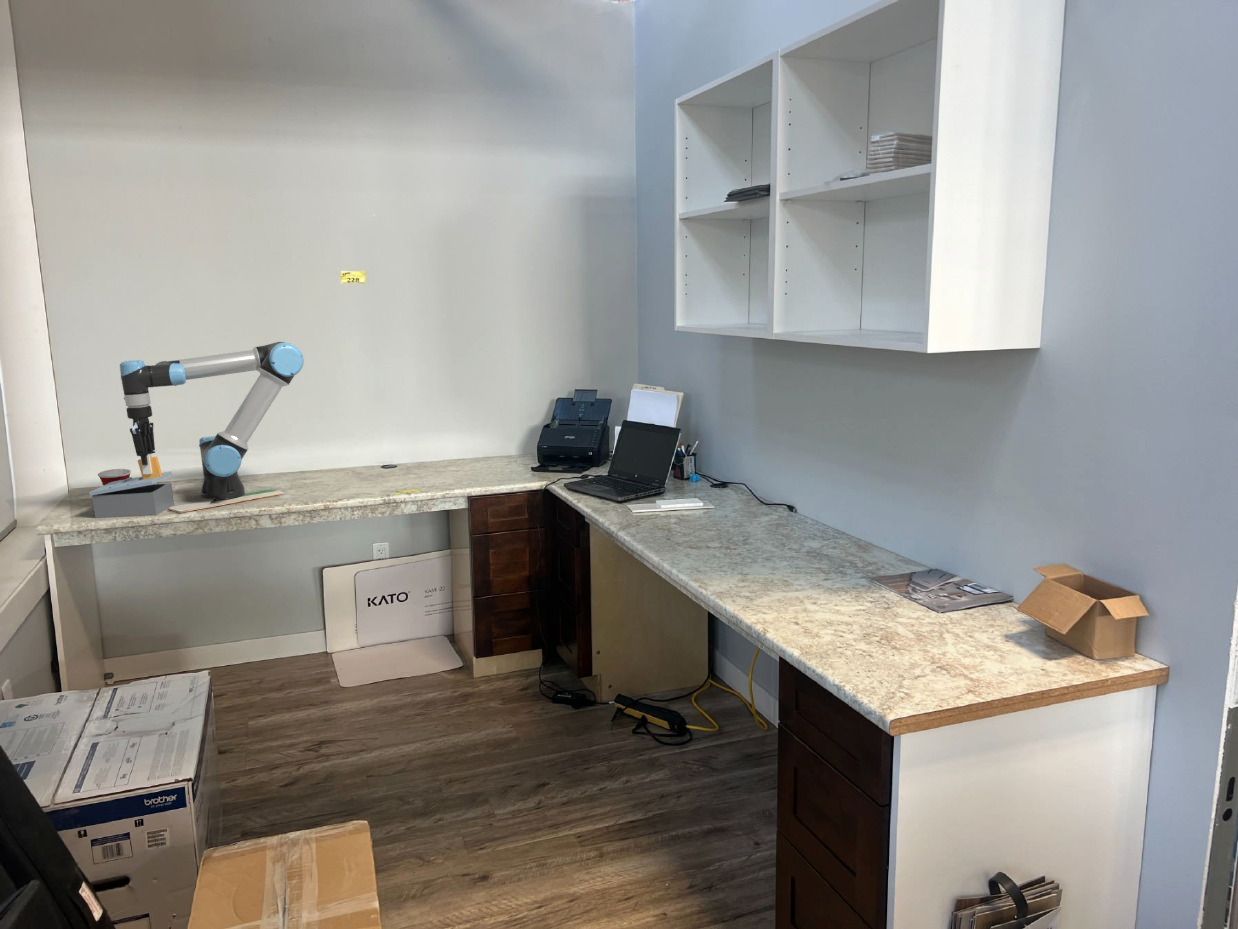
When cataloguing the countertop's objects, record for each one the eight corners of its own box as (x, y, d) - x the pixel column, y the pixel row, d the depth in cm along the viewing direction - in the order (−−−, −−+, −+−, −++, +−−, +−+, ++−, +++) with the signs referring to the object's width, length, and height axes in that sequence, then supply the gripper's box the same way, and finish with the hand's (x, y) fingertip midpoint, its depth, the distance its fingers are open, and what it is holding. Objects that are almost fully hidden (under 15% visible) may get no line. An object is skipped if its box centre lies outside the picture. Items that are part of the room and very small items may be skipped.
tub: (174, 507, 314) (171, 483, 312) (156, 517, 299) (153, 493, 297) (116, 509, 312) (113, 485, 310) (96, 520, 298) (92, 495, 296)
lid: (172, 474, 312) (165, 452, 310) (152, 484, 296) (145, 461, 294) (110, 485, 311) (104, 463, 309) (88, 496, 295) (81, 472, 293)
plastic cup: (105, 508, 315) (100, 476, 312) (99, 503, 323) (94, 471, 320) (139, 503, 322) (134, 471, 319) (131, 498, 330) (127, 467, 327)
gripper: (136, 403, 305) (147, 469, 310) (117, 409, 291) (128, 478, 296) (158, 402, 306) (169, 468, 311) (140, 408, 291) (151, 477, 296)
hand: (149, 473), depth 303 cm, fingers closed on lid, 2 cm apart
